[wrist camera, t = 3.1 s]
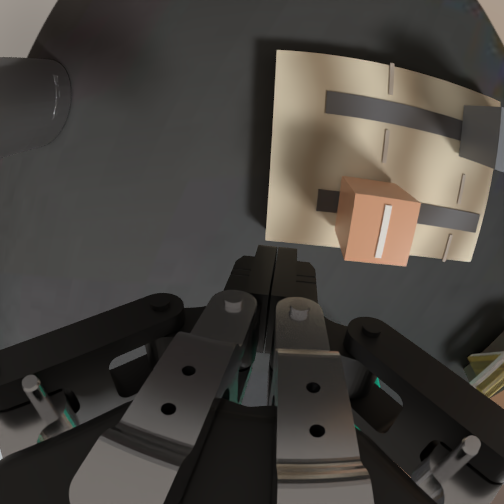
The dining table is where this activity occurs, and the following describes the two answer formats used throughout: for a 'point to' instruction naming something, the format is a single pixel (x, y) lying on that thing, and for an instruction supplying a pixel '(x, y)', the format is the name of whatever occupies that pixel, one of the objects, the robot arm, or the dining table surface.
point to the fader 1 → (375, 221)
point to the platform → (487, 367)
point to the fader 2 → (483, 136)
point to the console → (372, 150)
